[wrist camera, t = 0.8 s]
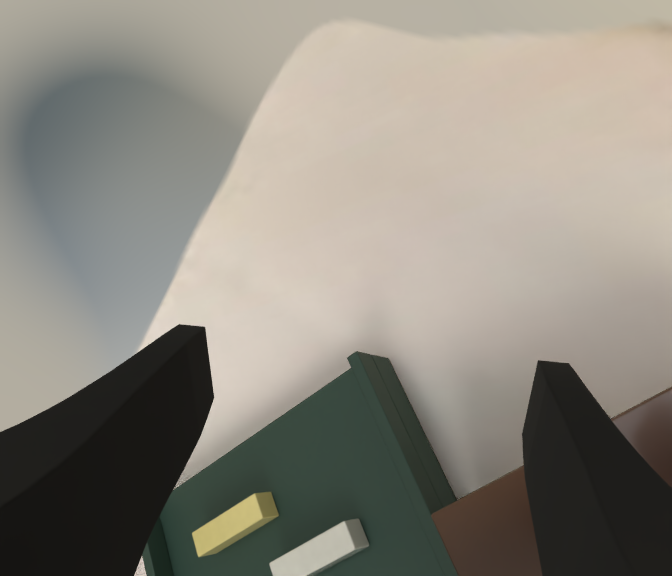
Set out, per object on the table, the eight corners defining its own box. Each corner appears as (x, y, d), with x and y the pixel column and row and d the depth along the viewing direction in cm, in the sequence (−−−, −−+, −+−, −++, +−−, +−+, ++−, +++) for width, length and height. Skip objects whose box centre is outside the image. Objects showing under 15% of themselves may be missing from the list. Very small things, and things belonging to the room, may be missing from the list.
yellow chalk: (279, 515, 29) (262, 518, 28) (215, 554, 30) (197, 557, 29) (271, 490, 29) (254, 492, 28) (209, 529, 31) (191, 532, 30)
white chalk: (370, 545, 26) (355, 549, 25) (294, 586, 27) (276, 591, 26) (359, 517, 26) (344, 520, 25) (285, 559, 28) (268, 563, 27)
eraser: (867, 506, 18) (894, 524, 14) (549, 634, 23) (502, 675, 19) (752, 363, 21) (748, 345, 17) (483, 503, 25) (429, 514, 21)
